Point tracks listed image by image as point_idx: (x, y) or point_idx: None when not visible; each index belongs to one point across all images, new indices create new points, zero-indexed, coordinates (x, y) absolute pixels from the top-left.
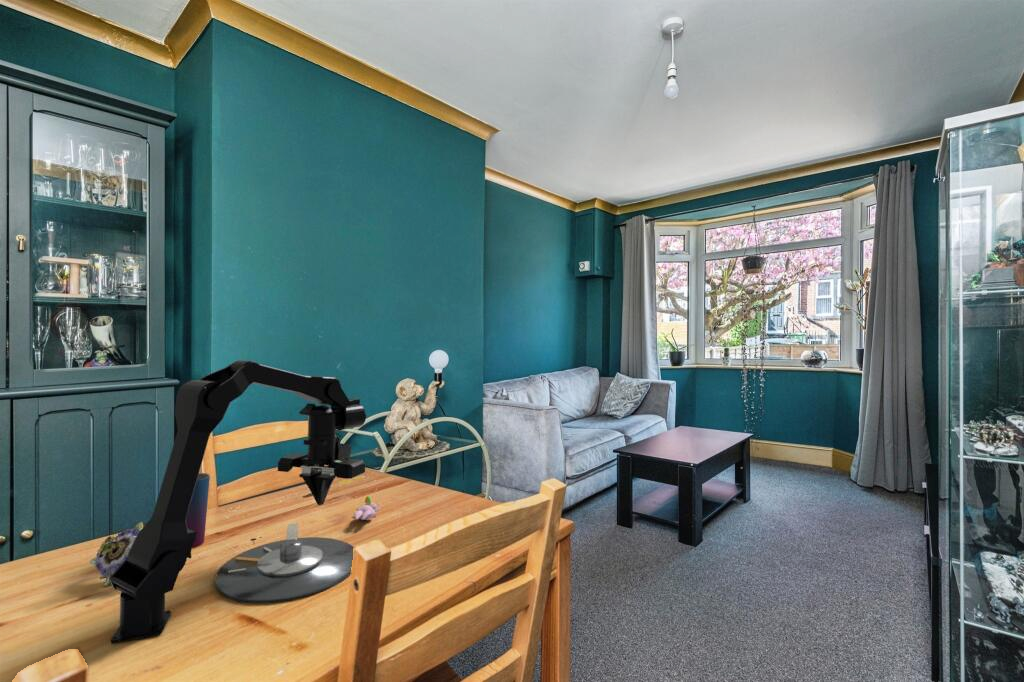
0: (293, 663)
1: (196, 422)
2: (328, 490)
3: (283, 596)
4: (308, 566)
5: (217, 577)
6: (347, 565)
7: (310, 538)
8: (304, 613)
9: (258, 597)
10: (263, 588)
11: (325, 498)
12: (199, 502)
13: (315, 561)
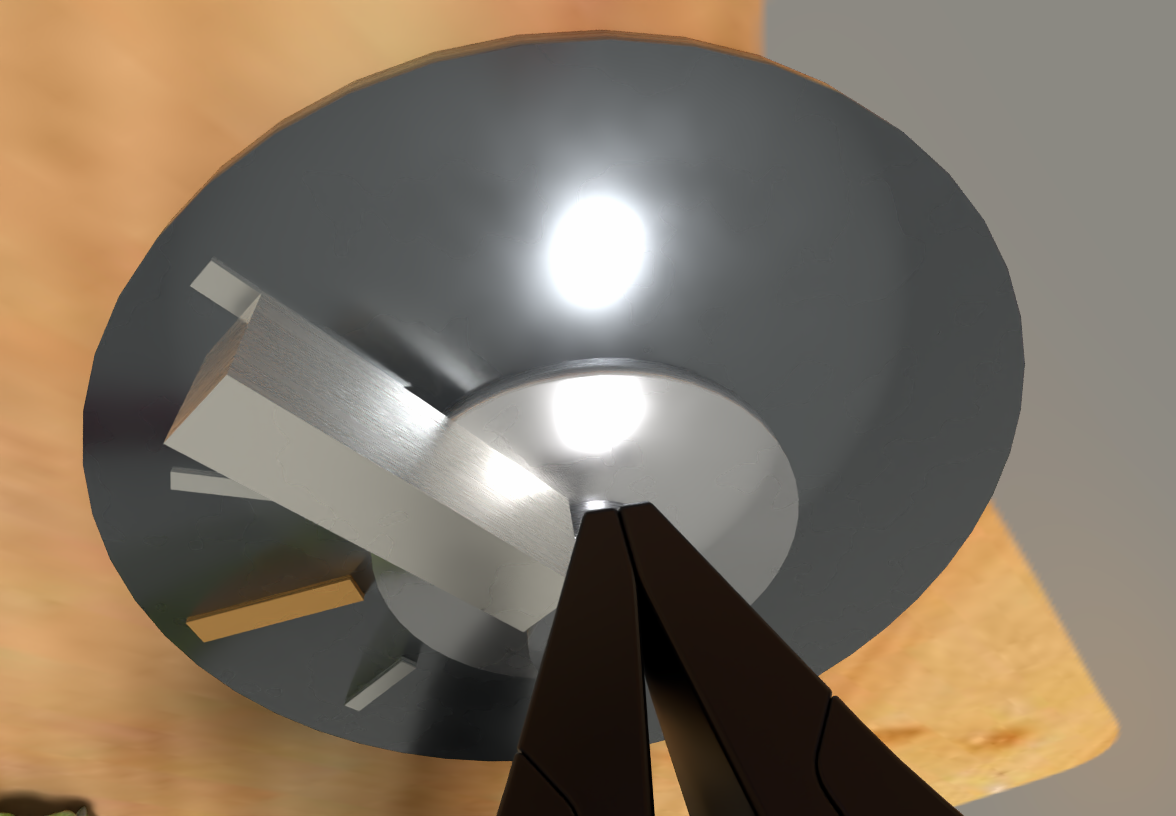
0: (1017, 769)
1: None
2: (807, 670)
3: None
4: (780, 561)
5: (360, 737)
6: (975, 391)
7: (318, 150)
8: (926, 665)
9: None
10: None
11: (702, 558)
12: None
13: (787, 514)
